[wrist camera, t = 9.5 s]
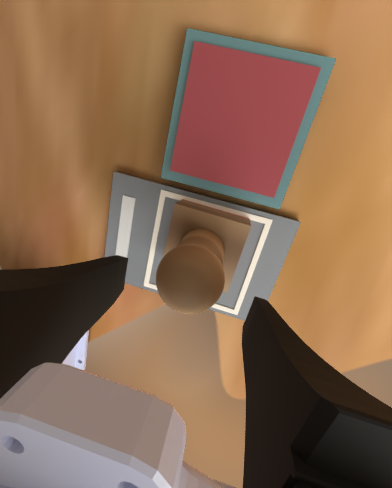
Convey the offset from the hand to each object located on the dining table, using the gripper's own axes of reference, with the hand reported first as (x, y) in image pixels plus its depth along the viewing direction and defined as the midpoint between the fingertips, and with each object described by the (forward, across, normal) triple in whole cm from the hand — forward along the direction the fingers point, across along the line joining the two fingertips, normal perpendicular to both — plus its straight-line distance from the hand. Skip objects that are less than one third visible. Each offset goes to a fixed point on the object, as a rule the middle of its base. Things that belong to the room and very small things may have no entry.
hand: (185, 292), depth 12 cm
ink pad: (+6, 0, -9) cm, 11 cm away
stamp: (+6, 0, -1) cm, 6 cm away
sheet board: (+6, +1, 0) cm, 6 cm away
